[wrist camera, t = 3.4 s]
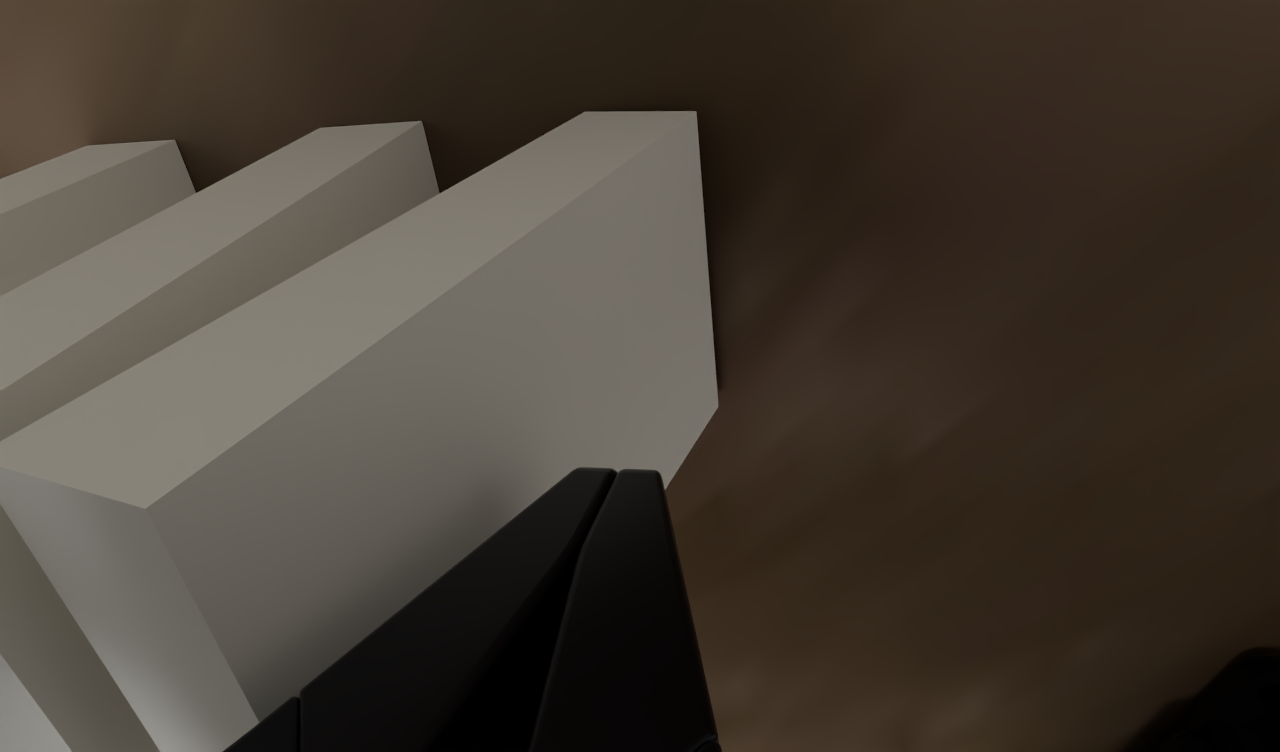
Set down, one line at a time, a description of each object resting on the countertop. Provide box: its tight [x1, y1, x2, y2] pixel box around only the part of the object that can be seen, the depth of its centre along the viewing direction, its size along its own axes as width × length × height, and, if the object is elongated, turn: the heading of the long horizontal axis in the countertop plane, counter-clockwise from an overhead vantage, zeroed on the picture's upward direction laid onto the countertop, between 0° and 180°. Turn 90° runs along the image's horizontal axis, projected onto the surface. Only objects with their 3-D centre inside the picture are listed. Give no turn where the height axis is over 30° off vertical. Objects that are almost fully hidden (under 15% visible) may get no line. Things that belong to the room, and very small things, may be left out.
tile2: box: [0, 121, 440, 752], centre depth 11 cm, size 2×5×9 cm, turn 7°
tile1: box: [0, 111, 718, 752], centre depth 10 cm, size 2×5×9 cm, turn 7°
